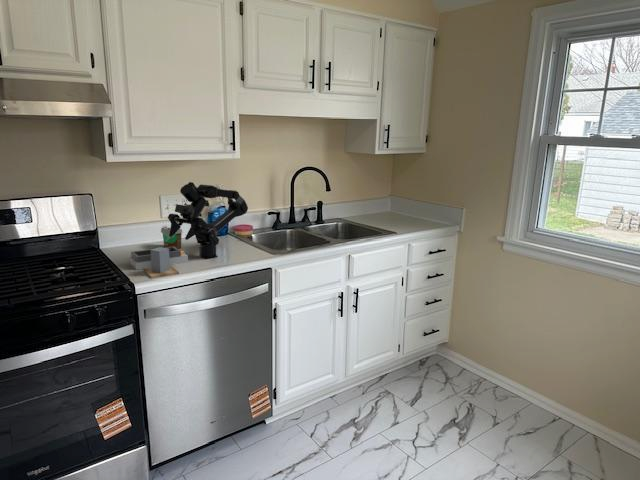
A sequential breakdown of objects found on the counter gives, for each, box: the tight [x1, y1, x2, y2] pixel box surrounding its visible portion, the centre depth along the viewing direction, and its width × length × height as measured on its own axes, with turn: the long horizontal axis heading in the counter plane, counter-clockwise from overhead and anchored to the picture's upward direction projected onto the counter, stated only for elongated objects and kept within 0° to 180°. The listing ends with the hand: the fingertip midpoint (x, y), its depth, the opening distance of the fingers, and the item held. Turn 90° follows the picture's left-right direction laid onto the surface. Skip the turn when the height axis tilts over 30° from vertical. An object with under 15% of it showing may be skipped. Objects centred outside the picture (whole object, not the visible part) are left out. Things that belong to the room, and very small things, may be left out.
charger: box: [151, 246, 170, 273], centre depth 189 cm, size 5×5×9 cm
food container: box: [160, 225, 183, 250], centre depth 226 cm, size 12×6×10 cm, turn 56°
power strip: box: [130, 246, 189, 271], centre depth 202 cm, size 22×9×6 cm, turn 126°
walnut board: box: [142, 265, 180, 279], centre depth 190 cm, size 11×11×1 cm
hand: (177, 237), depth 196 cm, fingers open, 9 cm apart
